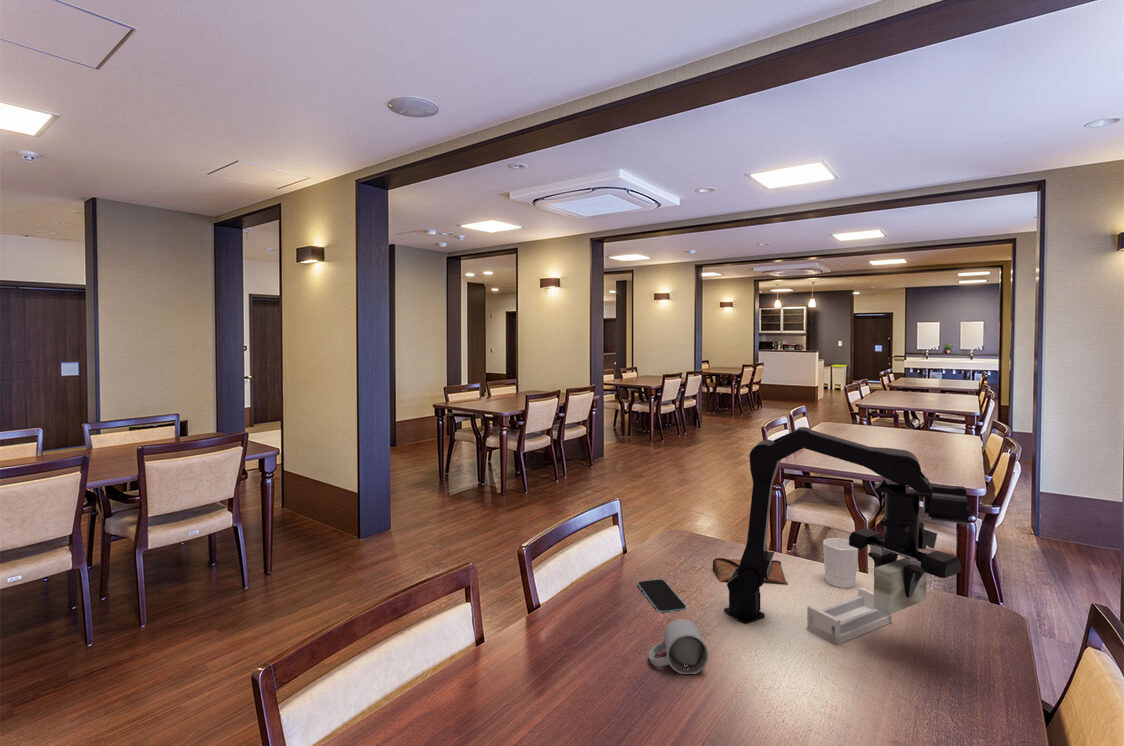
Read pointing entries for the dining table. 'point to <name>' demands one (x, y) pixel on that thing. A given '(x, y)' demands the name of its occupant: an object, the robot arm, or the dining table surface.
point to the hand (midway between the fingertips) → (900, 593)
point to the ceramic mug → (681, 648)
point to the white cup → (840, 562)
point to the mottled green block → (895, 588)
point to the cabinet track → (847, 618)
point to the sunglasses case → (728, 566)
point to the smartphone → (661, 595)
